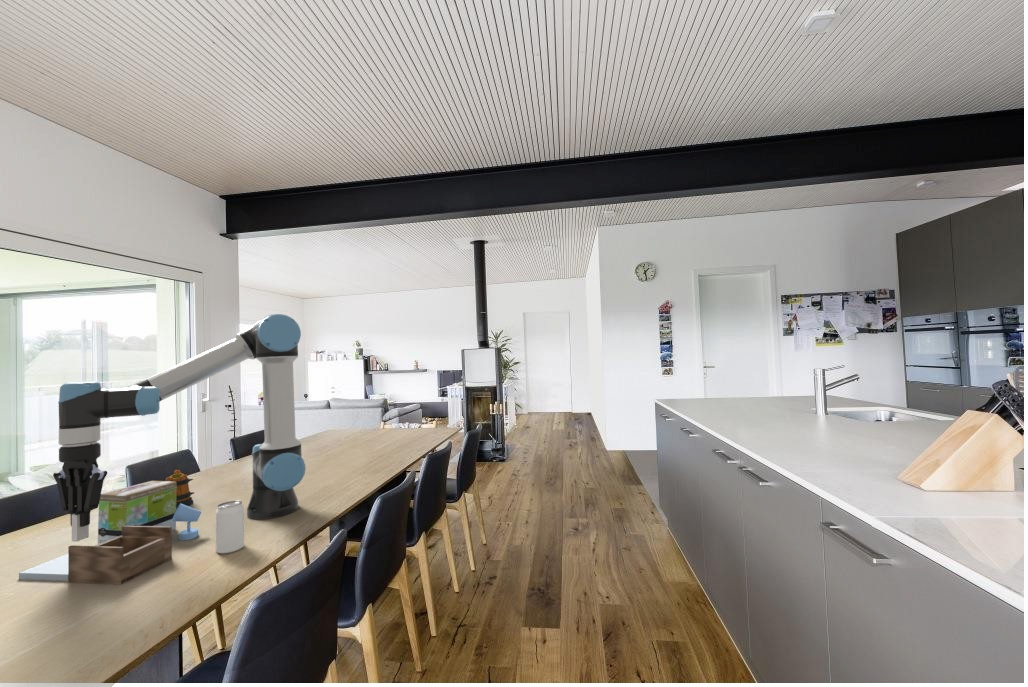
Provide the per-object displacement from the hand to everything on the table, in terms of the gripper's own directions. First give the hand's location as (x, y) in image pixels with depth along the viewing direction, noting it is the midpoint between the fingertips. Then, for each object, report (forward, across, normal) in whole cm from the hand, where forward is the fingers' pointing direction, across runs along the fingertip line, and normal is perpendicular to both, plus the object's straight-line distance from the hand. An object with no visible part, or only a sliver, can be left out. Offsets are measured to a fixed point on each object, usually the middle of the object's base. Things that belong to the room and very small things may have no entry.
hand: (80, 539), depth 111 cm
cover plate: (+8, +3, 0) cm, 8 cm away
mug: (+8, +20, -47) cm, 52 cm away
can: (+7, -30, -13) cm, 34 cm away
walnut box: (+7, -12, 0) cm, 14 cm away
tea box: (+8, +4, -19) cm, 21 cm away
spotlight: (+7, -11, -20) cm, 24 cm away
